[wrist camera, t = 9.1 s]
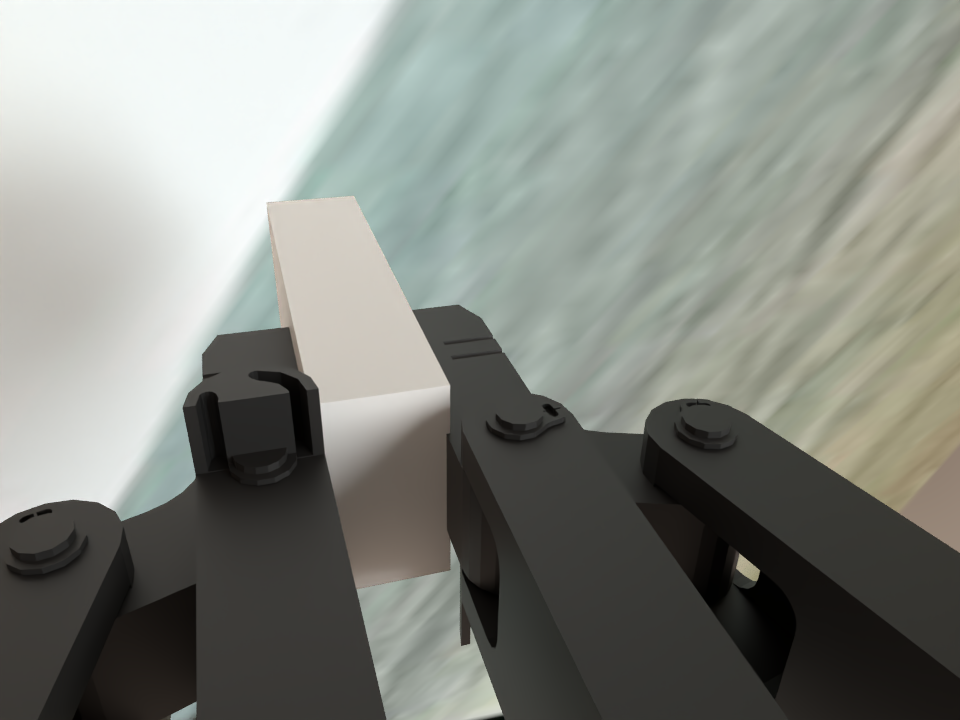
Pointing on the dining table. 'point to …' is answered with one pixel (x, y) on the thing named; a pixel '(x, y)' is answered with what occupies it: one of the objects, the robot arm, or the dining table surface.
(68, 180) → the dining table surface
